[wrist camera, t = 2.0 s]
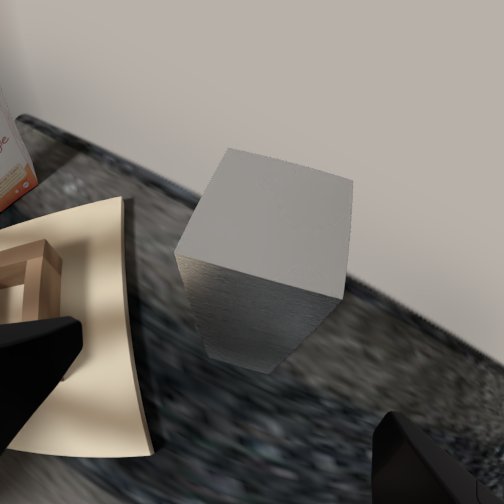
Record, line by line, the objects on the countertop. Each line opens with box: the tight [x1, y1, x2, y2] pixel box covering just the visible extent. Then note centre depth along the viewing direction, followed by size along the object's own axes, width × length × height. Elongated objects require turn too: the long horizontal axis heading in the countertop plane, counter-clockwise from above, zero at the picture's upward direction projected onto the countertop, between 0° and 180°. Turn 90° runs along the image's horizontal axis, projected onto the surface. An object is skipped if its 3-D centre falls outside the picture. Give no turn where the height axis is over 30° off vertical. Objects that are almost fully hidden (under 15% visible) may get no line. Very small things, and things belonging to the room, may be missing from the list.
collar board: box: [0, 196, 154, 457], centre depth 15 cm, size 20×20×4 cm
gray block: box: [174, 148, 353, 374], centre depth 13 cm, size 4×4×13 cm
